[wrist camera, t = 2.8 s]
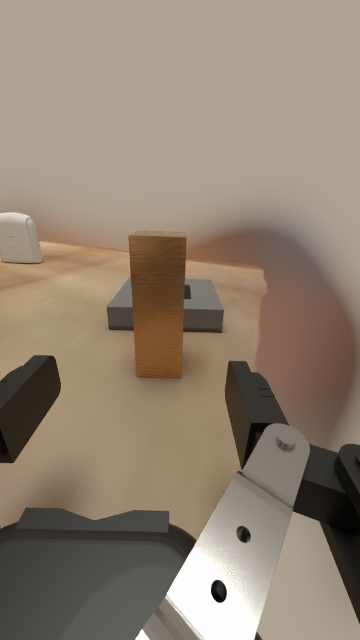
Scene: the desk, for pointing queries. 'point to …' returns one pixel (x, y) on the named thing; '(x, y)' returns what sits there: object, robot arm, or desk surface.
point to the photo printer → (19, 239)
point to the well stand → (198, 308)
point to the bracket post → (158, 301)
